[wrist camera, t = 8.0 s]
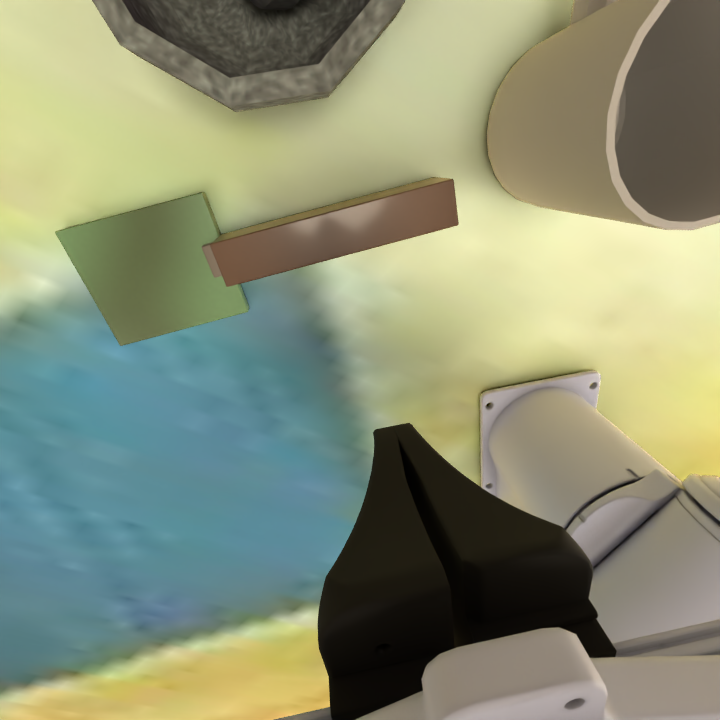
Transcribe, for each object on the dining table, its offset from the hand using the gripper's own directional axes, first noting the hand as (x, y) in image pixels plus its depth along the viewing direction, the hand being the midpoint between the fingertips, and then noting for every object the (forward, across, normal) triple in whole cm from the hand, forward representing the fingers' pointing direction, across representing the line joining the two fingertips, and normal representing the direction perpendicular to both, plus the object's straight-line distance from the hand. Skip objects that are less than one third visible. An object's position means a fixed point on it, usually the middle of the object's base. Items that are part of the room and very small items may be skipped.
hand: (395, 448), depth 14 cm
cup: (+10, -11, -11) cm, 18 cm away
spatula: (+10, +4, -6) cm, 12 cm away
